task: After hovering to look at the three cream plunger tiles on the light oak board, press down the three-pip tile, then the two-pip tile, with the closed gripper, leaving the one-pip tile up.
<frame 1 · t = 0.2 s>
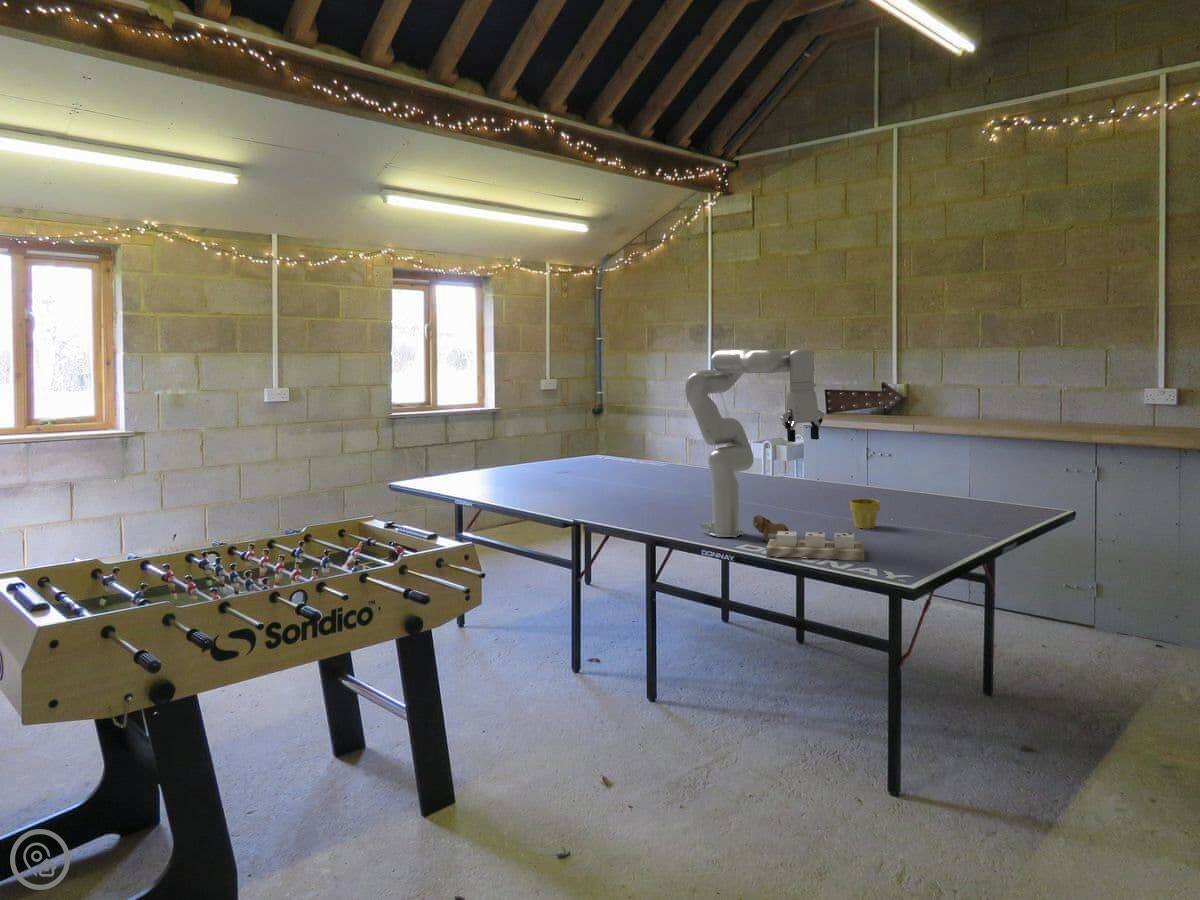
hand: (803, 440, 280), 36 cm above the table, tool pointing down, fingers open, 9 cm apart
tile one: (786, 539, 281), point 5 cm above the table, slide at 0.0 cm
tile two: (815, 540, 278), point 5 cm above the table, slide at 0.0 cm
lion figurine: (772, 542, 297), on the table
plant pot: (864, 527, 315), on the table
tile three: (844, 540, 276), point 5 cm above the table, slide at 0.0 cm
board: (815, 553, 279), on the table
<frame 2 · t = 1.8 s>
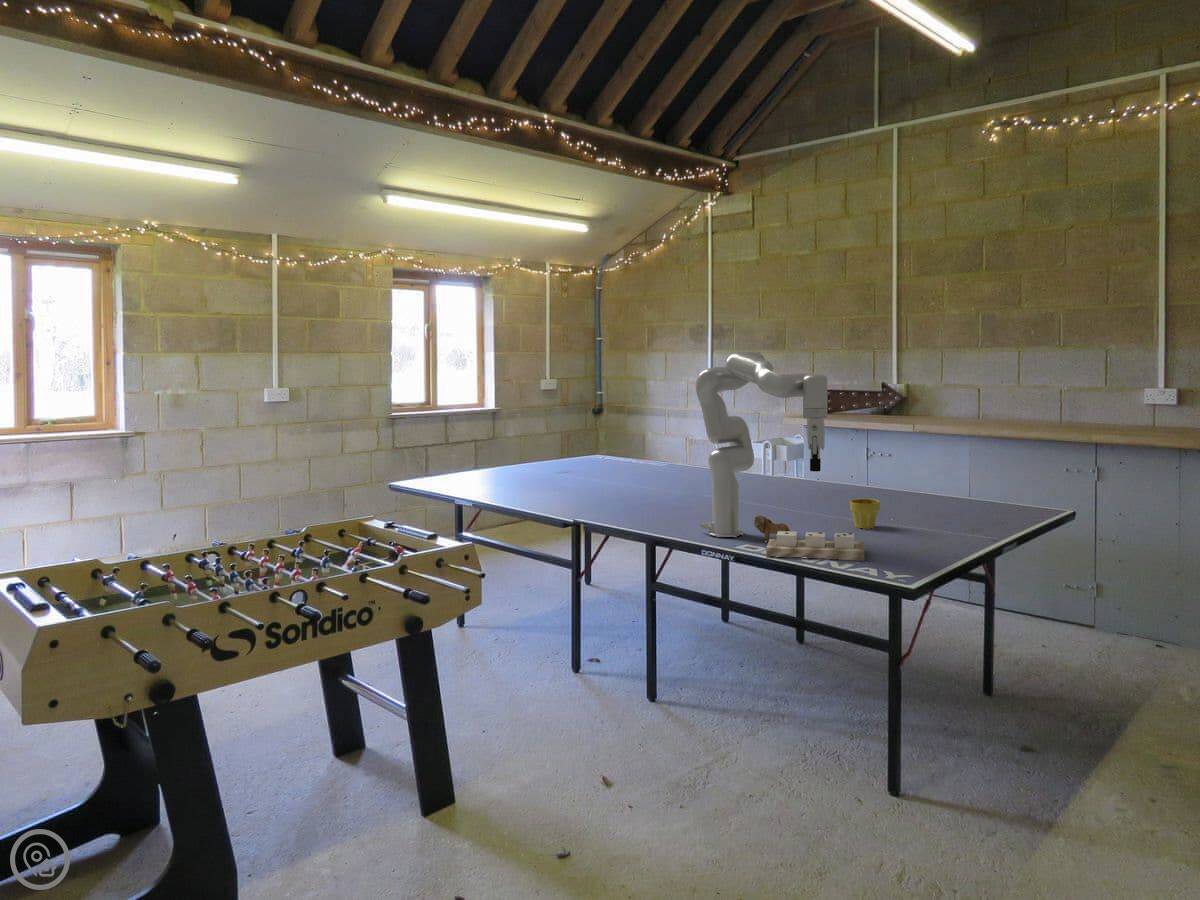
hand: (815, 470, 276), 27 cm above the table, tool pointing down, fingers closed
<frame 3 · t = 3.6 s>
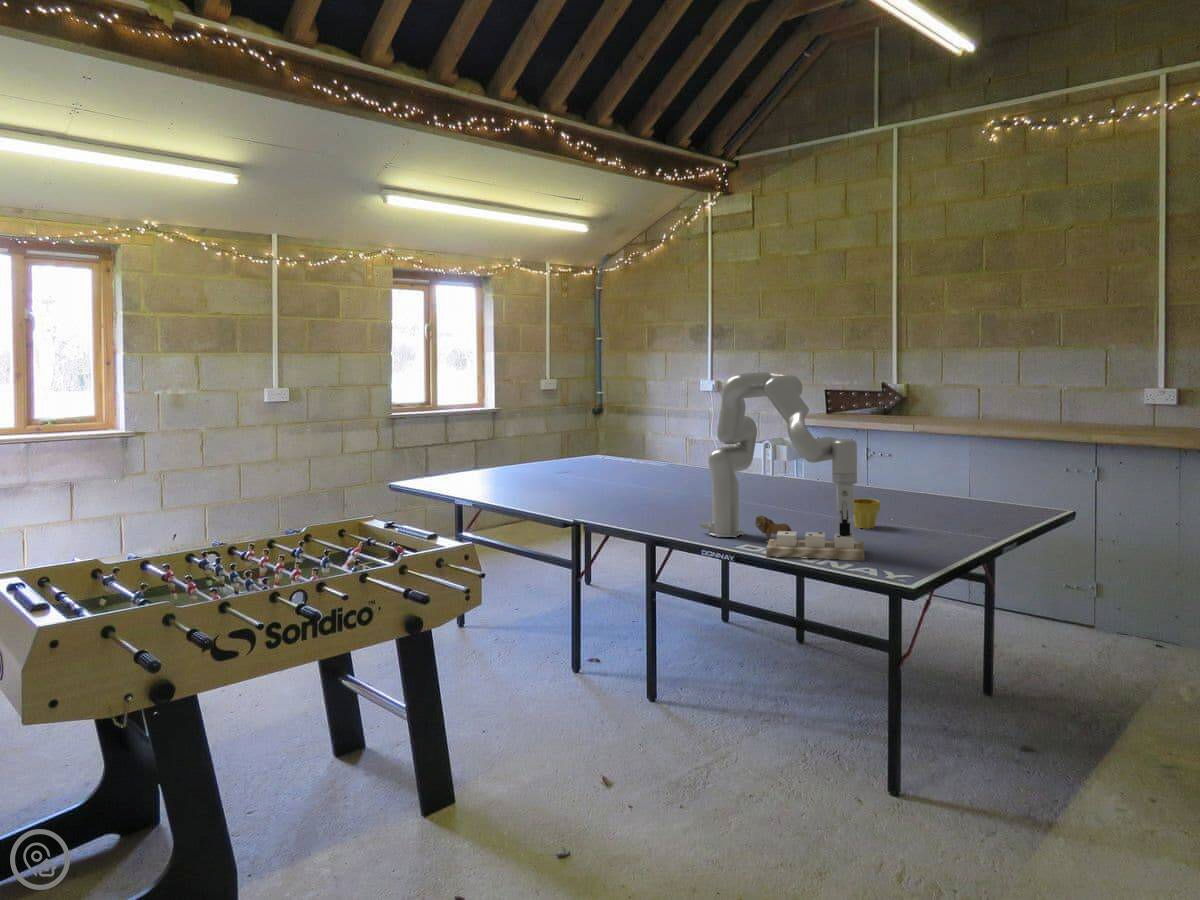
hand: (844, 535, 275), 7 cm above the table, tool pointing down, fingers closed
tile three: (844, 541, 276), point 4 cm above the table, slide at 0.2 cm, touching gripper
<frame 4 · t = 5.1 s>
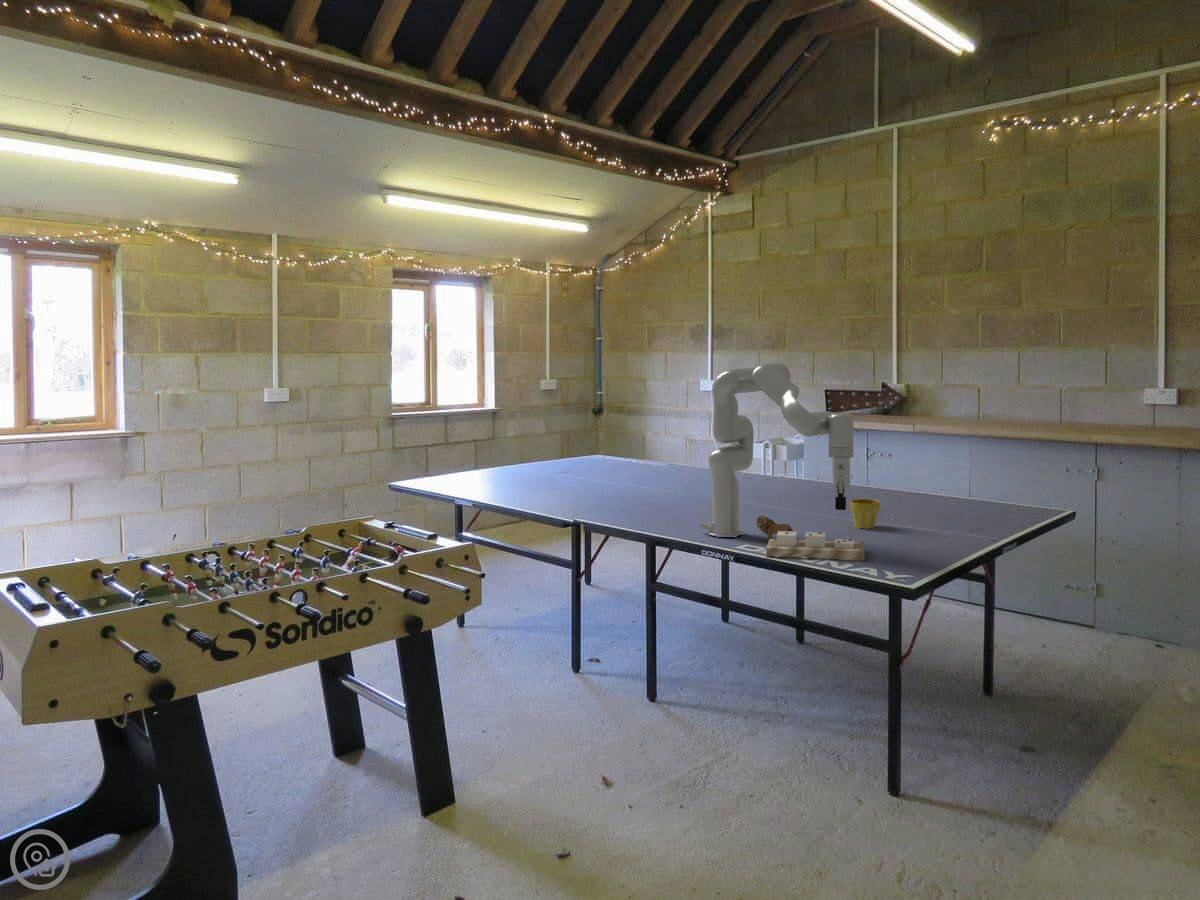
hand: (840, 509, 275), 15 cm above the table, tool pointing down, fingers closed
tile three: (844, 547, 276), point 3 cm above the table, slide at 2.0 cm
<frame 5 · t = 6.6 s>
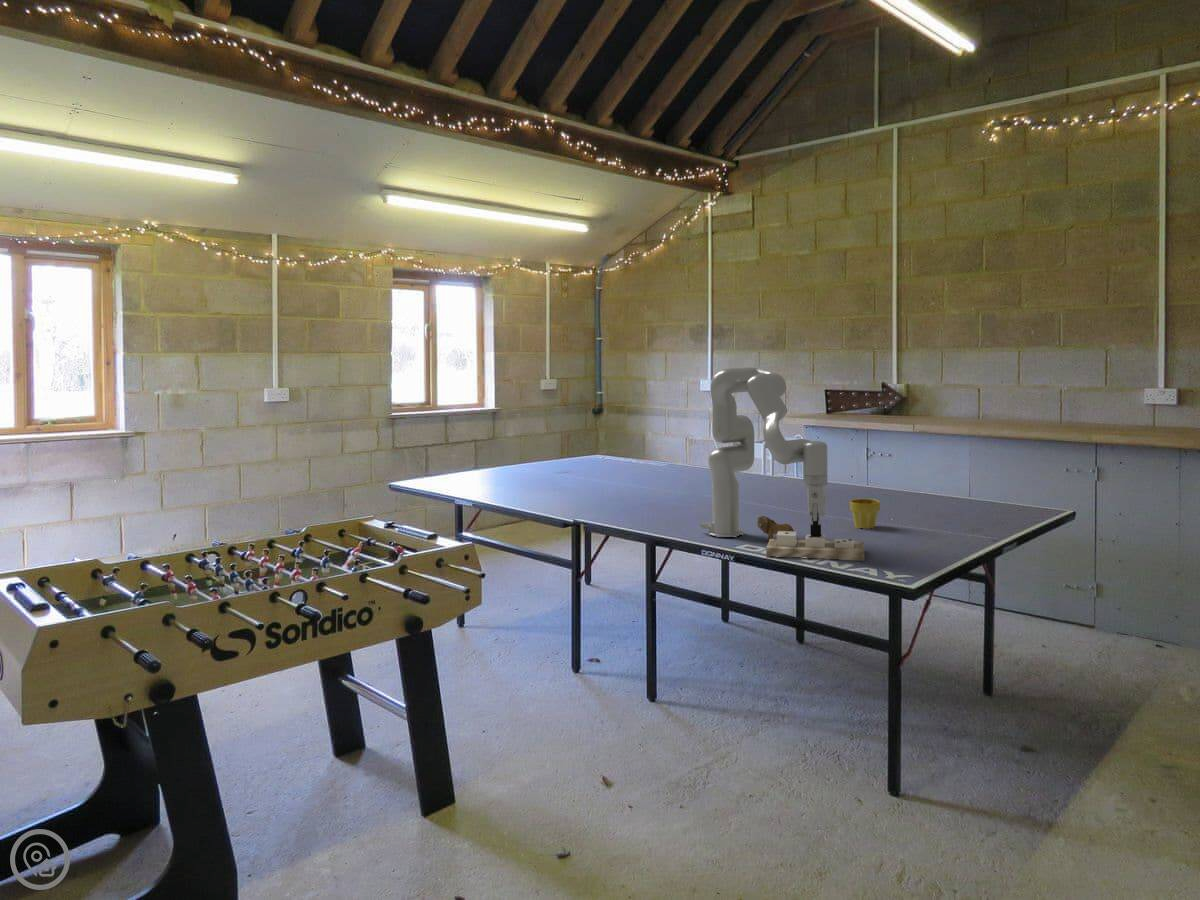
hand: (815, 536, 278), 6 cm above the table, tool pointing down, fingers closed
tile two: (815, 542, 278), point 4 cm above the table, slide at 0.7 cm, touching gripper
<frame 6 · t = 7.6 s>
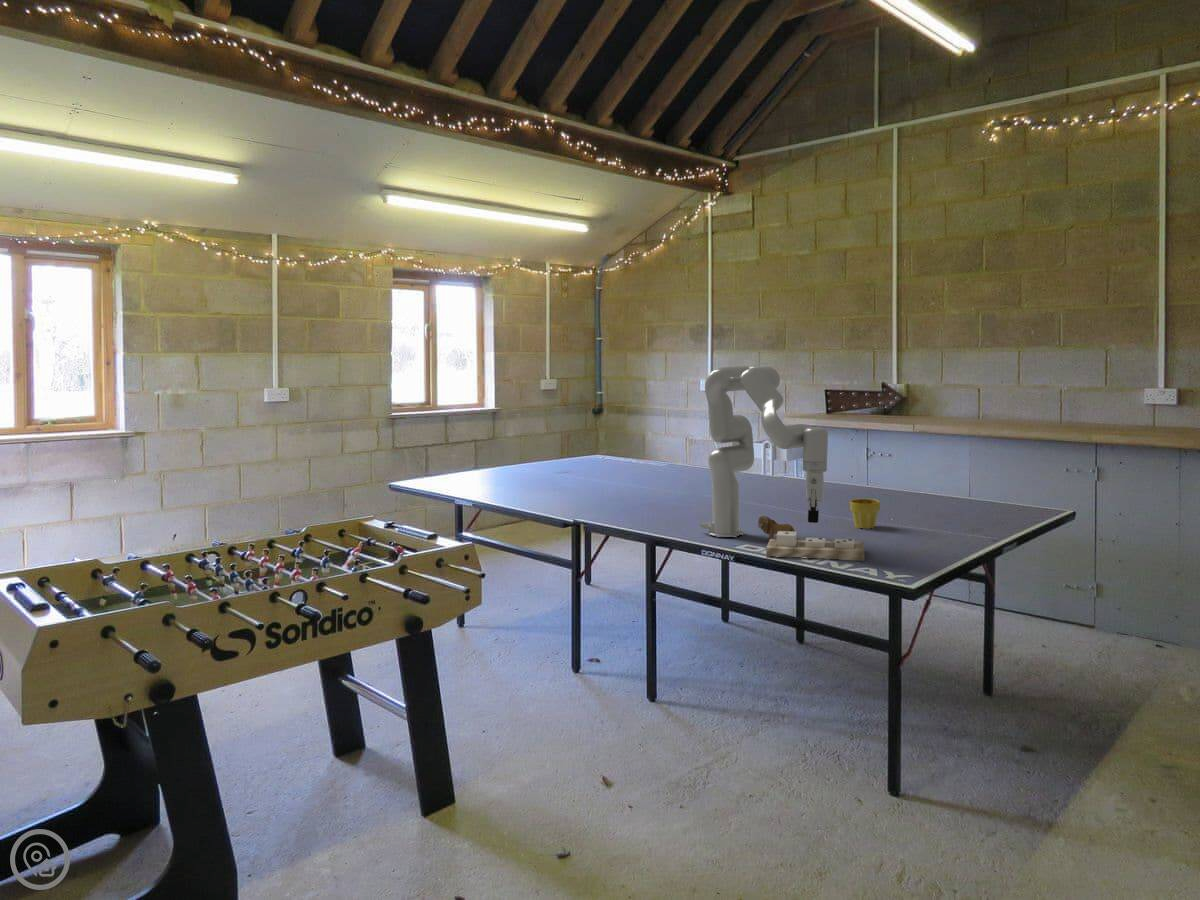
hand: (813, 521, 278), 10 cm above the table, tool pointing down, fingers closed
tile two: (815, 545, 278), point 3 cm above the table, slide at 1.8 cm
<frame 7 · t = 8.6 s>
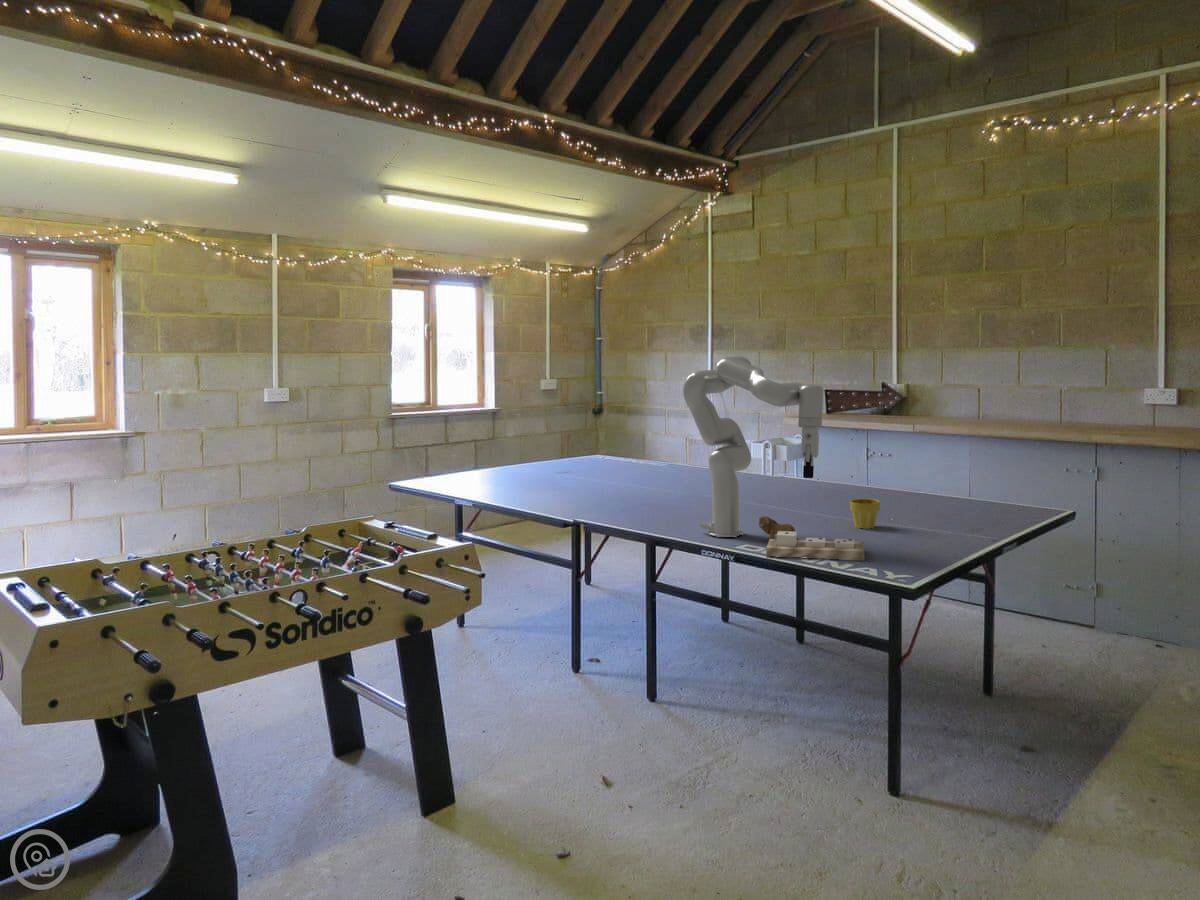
hand: (808, 477, 285), 23 cm above the table, tool pointing down, fingers closed
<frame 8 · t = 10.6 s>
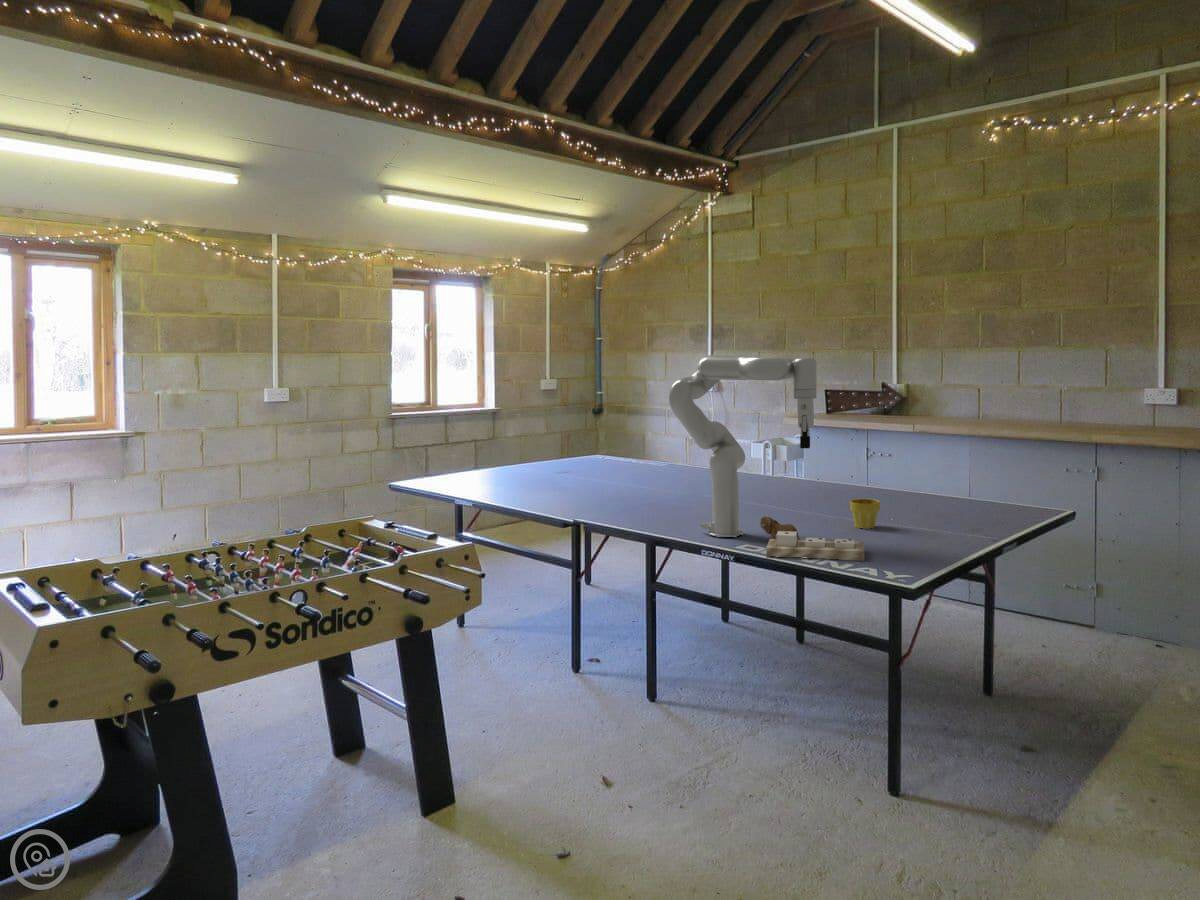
hand: (805, 447, 294), 32 cm above the table, tool pointing down, fingers closed
at the end: tile three slide at 2.0 cm; tile two slide at 1.8 cm; tile one slide at 0.0 cm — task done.
